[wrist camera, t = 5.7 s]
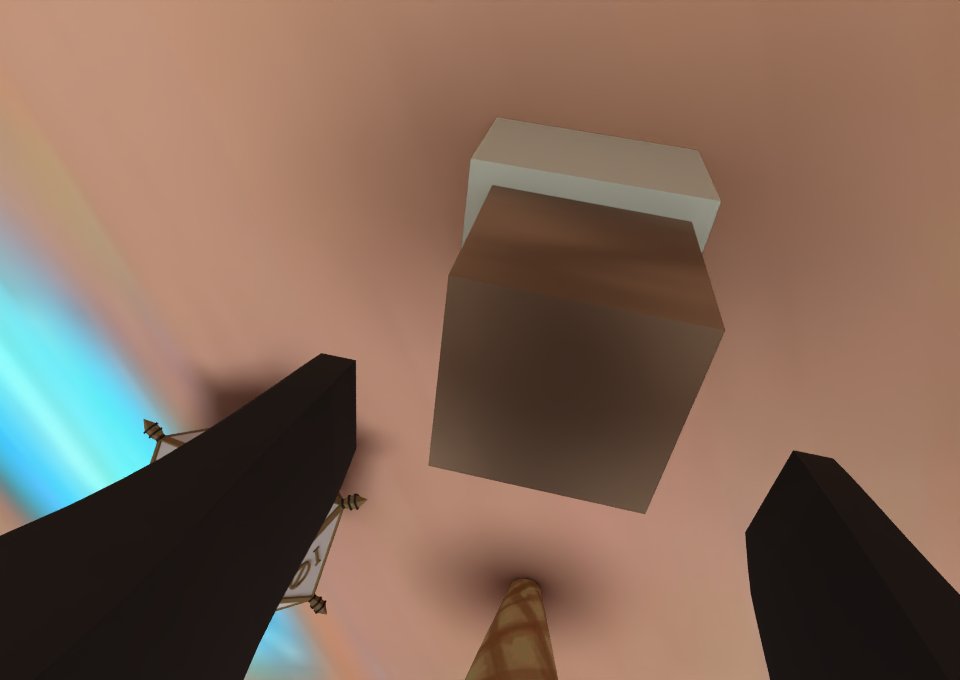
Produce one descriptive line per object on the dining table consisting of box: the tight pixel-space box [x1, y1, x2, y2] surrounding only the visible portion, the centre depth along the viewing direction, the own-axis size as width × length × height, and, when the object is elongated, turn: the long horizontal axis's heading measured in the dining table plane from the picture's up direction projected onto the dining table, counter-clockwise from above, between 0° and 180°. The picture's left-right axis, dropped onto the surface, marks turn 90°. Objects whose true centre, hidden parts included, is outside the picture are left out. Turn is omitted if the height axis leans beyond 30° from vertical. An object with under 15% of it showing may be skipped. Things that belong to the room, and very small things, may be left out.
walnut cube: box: [429, 185, 725, 514], centre depth 13 cm, size 4×4×4 cm
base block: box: [461, 117, 721, 253], centre depth 16 cm, size 6×6×4 cm
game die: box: [144, 419, 368, 614], centre depth 22 cm, size 9×8×10 cm
